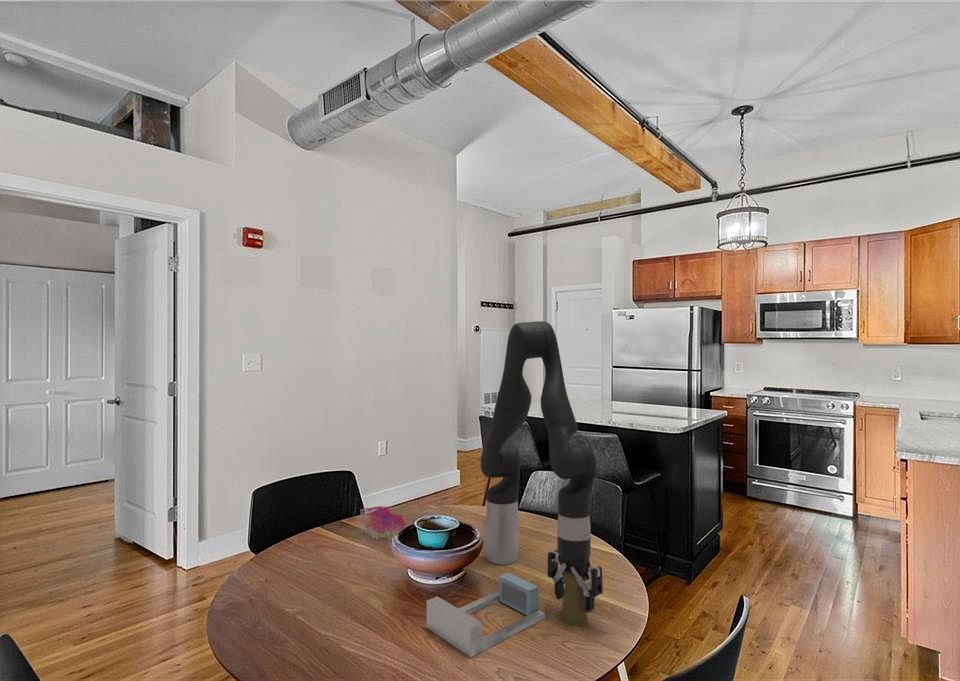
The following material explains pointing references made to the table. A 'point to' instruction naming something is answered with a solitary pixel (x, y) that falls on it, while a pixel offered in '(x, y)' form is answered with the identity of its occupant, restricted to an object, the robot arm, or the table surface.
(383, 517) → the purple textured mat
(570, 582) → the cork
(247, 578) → the table surface
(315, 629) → the table surface
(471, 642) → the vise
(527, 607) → the free jaw
